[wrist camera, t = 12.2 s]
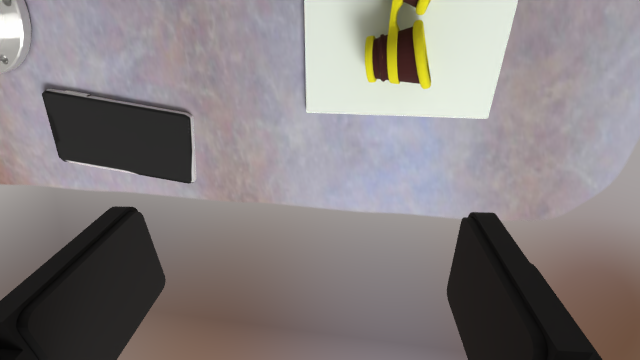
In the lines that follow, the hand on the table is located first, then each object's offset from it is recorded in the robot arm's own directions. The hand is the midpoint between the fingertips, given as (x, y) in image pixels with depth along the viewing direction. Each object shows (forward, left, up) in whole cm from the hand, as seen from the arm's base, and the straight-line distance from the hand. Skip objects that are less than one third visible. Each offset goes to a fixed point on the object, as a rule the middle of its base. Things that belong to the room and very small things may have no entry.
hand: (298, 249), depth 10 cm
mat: (+5, +6, -22) cm, 23 cm away
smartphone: (-22, -6, -23) cm, 32 cm away
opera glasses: (+5, +6, -22) cm, 23 cm away
